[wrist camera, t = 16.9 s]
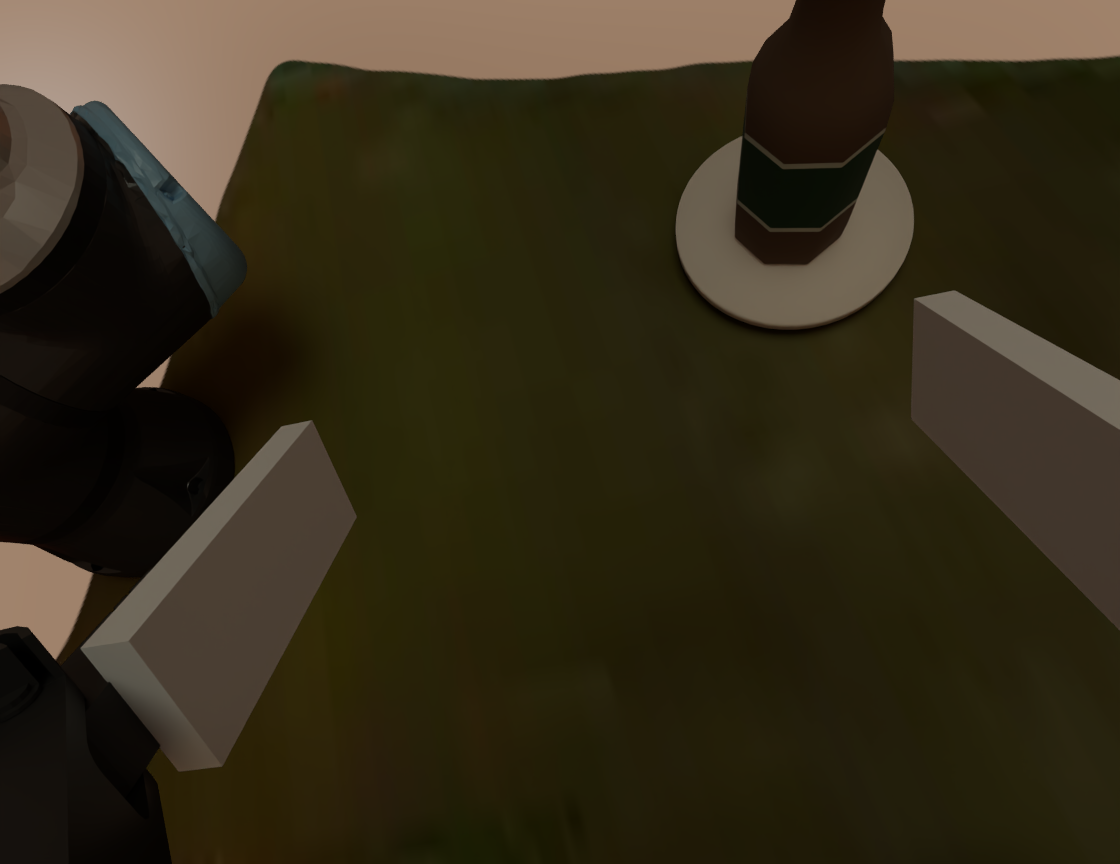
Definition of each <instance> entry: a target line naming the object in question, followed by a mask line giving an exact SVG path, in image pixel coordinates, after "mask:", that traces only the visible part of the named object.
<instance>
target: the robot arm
mask: <svg viewBox="0 0 1120 864" xmlns="http://www.w3.org/2000/svg"><path fill="white" fill-rule="evenodd" d="M246 272H247V264H246V259H245V257H244V255H243V253H242V251H241V250H240V249H239V247H238V246H237V245H236V244H235V243H234V242H233V241H232V240H231V239H230V238H229V237H228V235H227V234H226V233H225V232H224V231H223V230H222V229H221V228H220V227H219V226H218V225H217V224H216V223H215V221H214V220H212V219H211V217H210V216H209V215H208V214H207V213H206V212H205V211H204V210H203V209H202V207H201V206H200V205H199V204H198V203H197V202H196V201H195V200H194V199H193V198H192V197H191V196H190V195H189V194H188V192H186V190H185V189H184V188H183V187H182V186H181V185H180V184H179V183H178V182H177V181H176V179H174V177H173V176H172V175H171V174H170V173H169V172H168V171H167V170H166V169H165V168H164V167H163V166H162V164H161V163H160V162H159V161H158V160H157V159H156V158H155V157H154V156H153V155H152V154H151V152H150V151H149V150H148V149H147V148H146V147H145V146H144V145H143V144H142V143H141V142H140V141H139V139H138V138H137V137H136V136H135V135H134V134H133V133H132V132H131V131H130V130H129V129H128V128H127V127H126V125H125V124H124V123H123V122H122V121H121V120H120V119H119V118H118V117H117V116H116V115H115V114H114V113H113V112H112V111H111V109H110V108H109V107H107V105H105V104H104V103H102V102H99V101H91V102H88V103H86V104H85V105H83V106H81V105H80V106H76V107H74V109H73V111H72V112H71V113H70V114H68V113H67V112H65V111H64V110H63V109H62V108H60V107H59V106H58V105H57V104H56V103H54V102H52V101H51V100H49V99H47V98H46V97H45V96H43V95H41V94H39V93H37V92H35V91H34V90H32V89H28V88H25V87H21V86H15V85H7V84H2V85H0V542H10V543H21V544H30V545H34V546H36V547H38V548H41V549H42V550H44V551H47V552H49V553H51V554H53V555H55V556H57V557H59V558H61V559H63V560H66V561H68V562H71V563H73V564H75V565H76V566H78V567H80V568H82V569H85V570H87V571H89V572H92V573H96V574H100V575H105V576H119V577H142V578H141V579H140V580H139V581H138V582H137V583H136V584H135V585H134V586H133V588H132V589H131V590H130V591H129V595H125V596H124V597H123V599H122V600H121V601H120V602H119V603H118V604H117V605H116V606H115V607H114V612H110V613H109V614H108V615H107V616H106V617H105V618H104V619H103V620H102V622H101V623H100V624H99V625H98V626H97V627H96V628H95V629H94V630H93V631H92V632H91V634H90V635H89V636H88V637H87V638H86V639H85V640H84V641H83V642H82V643H81V645H80V646H79V647H78V648H77V649H76V650H75V651H74V652H73V653H72V654H71V655H70V657H69V658H68V659H67V660H66V661H65V662H64V663H63V664H62V665H61V666H60V665H59V664H58V663H57V662H56V660H55V659H54V658H53V657H52V656H51V654H50V653H49V652H48V651H47V650H46V648H45V647H44V646H43V645H42V644H41V643H40V641H39V640H38V639H37V638H36V637H35V635H34V634H33V633H32V632H31V631H30V629H29V628H27V627H19V626H16V627H12V628H8V629H4V630H0V864H172V862H171V856H170V851H169V845H168V839H167V834H166V828H165V823H164V817H163V812H162V806H161V801H160V795H159V790H158V784H157V783H156V781H155V779H154V778H153V776H152V775H151V774H150V773H149V772H148V770H147V769H146V767H147V766H148V764H149V762H150V761H151V759H152V758H153V756H154V755H155V753H156V752H157V750H158V749H159V747H160V749H161V750H162V751H163V752H164V754H165V755H166V756H167V757H168V759H169V760H170V761H171V762H172V764H173V765H174V766H175V767H176V769H177V770H178V771H179V772H180V771H188V770H196V769H204V768H213V767H221V766H223V764H224V762H225V760H226V759H227V757H228V755H229V753H230V751H231V749H232V747H233V746H234V744H235V742H236V740H237V738H238V736H239V734H240V733H241V731H242V729H243V727H244V725H245V723H246V721H247V720H248V718H249V716H250V714H251V712H252V710H253V708H254V707H255V705H256V703H257V701H258V699H259V697H260V695H261V694H262V692H263V690H264V688H265V686H266V684H267V682H268V681H269V679H270V677H271V675H272V673H273V671H274V669H275V668H276V666H277V664H278V662H279V660H280V658H281V656H282V655H283V653H284V651H285V649H286V647H287V645H288V644H289V642H290V640H291V638H292V636H293V634H294V632H295V631H296V629H297V627H298V625H299V623H300V621H301V619H302V618H303V616H304V614H305V612H306V610H307V608H308V606H309V605H310V603H311V601H312V599H313V597H314V595H315V593H316V592H317V590H318V588H319V586H320V584H321V582H322V580H323V579H324V577H325V575H326V573H327V571H328V569H329V567H330V566H331V564H332V562H333V560H334V558H335V556H336V554H337V553H338V551H339V549H340V547H341V545H342V543H343V541H344V540H345V538H346V536H347V534H348V532H349V530H350V528H351V527H352V525H353V523H354V521H355V519H356V517H357V516H356V514H355V512H354V510H353V508H352V506H351V503H350V501H349V499H348V497H347V495H346V493H345V490H344V488H343V486H342V484H341V482H340V480H339V477H338V475H337V473H336V471H335V469H334V467H333V465H332V462H331V460H330V458H329V456H328V454H327V452H326V449H325V447H324V445H323V443H322V441H321V439H320V436H319V434H318V432H317V430H316V428H315V426H314V424H313V421H312V420H311V421H306V422H301V423H296V424H291V425H286V426H282V427H281V428H280V429H279V430H278V431H277V432H276V433H275V434H274V435H273V436H272V438H271V439H270V440H269V441H268V442H267V443H266V444H265V445H264V446H263V447H262V449H261V450H260V451H259V452H258V453H257V454H256V455H255V456H254V457H253V458H252V460H251V461H250V462H249V463H248V464H247V465H246V466H245V467H244V468H243V470H242V471H241V472H240V473H239V474H238V475H237V476H236V477H235V478H234V479H233V471H234V460H233V450H232V445H231V441H230V438H229V435H228V433H227V430H226V428H225V426H224V425H223V423H222V421H221V420H220V419H219V417H218V416H217V415H216V414H215V413H214V412H213V411H212V410H211V409H210V408H209V407H207V406H206V405H204V404H203V403H201V402H199V401H197V400H195V399H193V398H190V397H188V396H185V395H183V394H181V393H178V392H175V391H172V390H168V389H163V388H155V387H153V388H151V387H142V388H136V387H137V386H138V385H139V384H140V383H141V382H143V381H144V379H146V378H147V377H148V376H149V375H150V374H151V373H152V372H153V371H155V370H156V369H157V368H158V367H159V366H160V365H161V364H162V363H163V362H164V361H165V360H166V359H168V358H169V357H170V356H171V355H172V354H173V353H174V352H175V351H176V350H178V349H179V348H180V347H181V346H182V345H183V344H184V343H185V342H186V341H187V340H188V339H190V338H191V337H192V336H193V335H194V334H195V333H196V332H197V331H198V330H199V329H200V328H202V327H203V326H204V325H205V324H206V323H207V322H208V321H209V320H210V319H212V318H214V317H215V316H216V315H217V314H218V312H219V308H220V307H221V306H222V305H223V304H224V303H225V302H226V300H227V299H228V298H229V297H230V296H231V295H232V294H233V293H234V292H235V291H236V290H237V288H238V287H239V286H240V285H241V284H242V283H243V281H244V279H245V276H246ZM911 419H912V420H913V421H914V422H915V423H916V424H917V425H918V426H919V427H920V428H921V429H922V430H923V431H924V432H925V433H926V434H927V435H928V436H929V437H930V438H931V439H932V440H933V441H934V442H935V443H936V444H937V445H938V446H939V447H940V448H941V450H942V451H943V452H944V453H945V454H946V455H947V456H948V457H949V458H950V459H951V460H952V461H953V462H954V463H955V464H956V465H957V466H958V467H959V468H960V469H961V470H962V471H963V472H964V473H965V474H966V475H967V476H968V477H969V478H970V479H971V480H972V481H973V482H974V483H975V484H976V485H977V486H978V487H979V488H980V489H981V490H982V491H983V492H984V493H985V494H986V495H987V496H988V497H989V498H990V499H991V500H992V501H993V502H994V503H995V504H996V505H997V506H998V507H999V508H1000V509H1001V510H1002V511H1003V512H1004V513H1005V514H1006V515H1007V516H1008V517H1009V518H1010V519H1011V521H1012V522H1013V523H1014V524H1015V525H1016V526H1017V527H1018V528H1019V529H1020V530H1021V531H1022V532H1023V533H1024V534H1025V535H1026V536H1027V537H1028V538H1029V539H1030V540H1031V541H1032V542H1033V543H1034V544H1035V545H1036V546H1037V547H1038V548H1039V549H1040V550H1041V551H1042V552H1043V553H1044V554H1045V555H1046V556H1047V557H1048V558H1049V559H1050V560H1051V561H1052V562H1053V563H1054V564H1055V565H1056V566H1057V567H1058V568H1059V569H1060V570H1061V571H1062V572H1063V573H1064V574H1065V575H1066V576H1067V577H1068V578H1069V579H1070V580H1071V581H1072V582H1073V583H1074V584H1075V585H1076V586H1077V587H1078V588H1079V589H1080V591H1081V592H1082V593H1083V594H1084V595H1085V596H1086V597H1087V598H1088V599H1089V600H1090V601H1091V602H1092V603H1093V604H1094V605H1095V606H1096V607H1097V608H1098V609H1099V610H1100V611H1101V612H1102V613H1103V614H1104V615H1105V616H1106V617H1107V618H1108V619H1109V620H1110V621H1111V622H1112V623H1113V624H1114V625H1115V626H1116V627H1117V628H1118V629H1119V630H1120V380H1118V379H1116V378H1114V377H1112V376H1110V375H1109V374H1107V373H1105V372H1103V371H1101V370H1099V369H1098V368H1096V367H1094V366H1092V365H1090V364H1088V363H1087V362H1085V361H1083V360H1081V359H1079V358H1077V357H1076V356H1074V355H1072V354H1070V353H1068V352H1066V351H1065V350H1063V349H1061V348H1059V347H1057V346H1055V345H1054V344H1052V343H1050V342H1048V341H1046V340H1044V339H1043V338H1041V337H1039V336H1037V335H1035V334H1033V333H1032V332H1030V331H1028V330H1026V329H1024V328H1022V327H1021V326H1019V325H1017V324H1015V323H1013V322H1011V321H1010V320H1008V319H1006V318H1004V317H1002V316H1000V315H999V314H997V313H995V312H993V311H991V310H989V309H988V308H986V307H984V306H982V305H980V304H978V303H977V302H975V301H973V300H971V299H969V298H968V297H966V296H964V295H962V294H960V293H958V292H957V291H950V292H945V293H940V294H935V295H930V296H925V297H920V298H915V299H914V324H913V363H912V401H911ZM232 480H233V481H232Z"/></svg>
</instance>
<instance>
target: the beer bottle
mask: <svg viewBox="0 0 1120 864" xmlns="http://www.w3.org/2000/svg"><path fill="white" fill-rule="evenodd" d="M884 3H885V0H796V2H795V5H794V7H793V10H792V13H791V16H790V18H789V19H788V20H787V21H786V22H785V23H784V24H783V25H782V26H781V27H780V28H778V30H776V31H775V32H774V33H773V34H772V35H771V36H770V37H769V38H768V39H767V40H766V41H765V42H764V44H763V46H762V48H761V49H760V51H759V53H758V54H757V56H756V58H755V59H754V61H753V64H752V69H751V74H750V78H749V83H748V89H747V98H746V107H745V117H744V126H743V136H742V145H741V155H740V164H739V174H738V183H737V198H736V215H735V238H736V239H737V240H738V241H739V242H740V243H742V244H743V245H744V246H745V247H746V248H747V249H748V250H749V251H750V252H752V253H753V254H754V255H755V256H756V257H757V258H758V259H759V260H760V261H762V262H763V263H764V264H808V263H809V262H811V261H812V260H813V259H814V258H816V257H817V256H818V255H819V254H820V253H822V252H823V251H824V250H825V249H826V248H828V247H829V246H830V245H831V244H833V243H834V242H835V241H836V240H837V239H839V238H840V237H841V235H842V233H843V231H844V229H845V227H846V225H847V223H848V221H849V219H850V216H851V214H852V211H853V209H854V206H855V204H856V201H857V199H858V196H859V194H860V191H861V189H862V186H863V184H864V181H865V179H866V176H867V174H868V171H869V169H870V166H871V164H872V161H873V159H874V157H875V154H876V152H877V149H878V147H879V144H880V142H881V139H882V137H883V134H884V132H885V129H886V127H887V123H888V120H889V116H890V113H891V109H892V106H893V102H894V60H893V42H892V32H891V30H890V28H889V27H888V25H887V23H886V22H885V20H884V18H883V17H882V15H883V8H884Z"/></svg>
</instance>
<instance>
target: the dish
mask: <svg viewBox="0 0 1120 864" xmlns="http://www.w3.org/2000/svg"><path fill="white" fill-rule="evenodd" d="M741 145H742V137H739V138H737V139H736V140H734V141H732V142H730V143H728V144H726V145H725V146H724V147H722V148H721V149H719V150H718V151H716V152H715V153H714V154H713V155H712V156H710V157H709V158H708V159H707V160H706V161H705V162H704V163H703V164H702V165H701V166H700V167H699V169H698V170H697V171H696V172H695V174H694V175H693V176H692V178H691V179H690V181H689V182H688V184H687V186H686V188H685V190H684V192H683V194H682V197H681V200H680V203H679V206H678V211H677V217H676V242H677V251H678V255H679V258H680V262H681V265H682V267H683V269H684V271H685V274H686V275H687V277H688V279H689V280H690V282H691V283H692V285H693V286H694V288H695V289H696V290H697V291H698V292H699V293H700V295H701V296H702V297H703V298H705V299H706V300H707V301H708V302H709V303H710V304H711V305H713V306H714V307H716V308H717V309H718V310H720V311H721V312H723V313H725V314H727V315H729V316H731V317H733V318H735V319H737V320H739V321H742V322H745V323H748V324H750V325H755V326H759V327H763V328H770V329H779V330H799V329H807V328H814V327H818V326H823V325H827V324H830V323H833V322H836V321H838V320H841V319H844V318H846V317H848V316H849V315H851V314H853V313H855V312H857V311H859V310H860V309H862V308H863V307H865V306H866V305H868V304H869V303H871V302H872V301H873V300H874V299H875V298H876V297H877V296H878V295H879V294H881V293H882V292H883V290H884V289H885V288H886V287H887V286H888V285H889V283H890V282H891V281H892V279H893V278H894V276H895V275H896V273H897V271H898V270H899V268H900V266H901V265H902V263H903V261H904V259H905V257H906V255H907V252H908V250H909V247H910V243H911V240H912V236H913V227H914V214H913V205H912V201H911V197H910V193H909V191H908V189H907V186H906V184H905V182H904V180H903V178H902V177H901V175H900V173H899V172H898V170H897V169H896V168H895V166H894V165H893V164H892V163H891V162H890V160H889V159H888V158H886V157H885V156H884V155H883V154H882V153H881V152H880V151H879V150H877V152H876V154H875V157H874V159H873V161H872V164H871V166H870V169H869V171H868V174H867V176H866V179H865V181H864V184H863V186H862V189H861V191H860V194H859V196H858V199H857V201H856V204H855V206H854V209H853V211H852V214H851V216H850V219H849V221H848V223H847V225H846V227H845V229H844V231H843V233H842V235H841V237H840V238H839V239H837V240H836V241H835V242H834V243H833V244H831V245H830V246H829V247H828V248H826V249H825V250H824V251H823V252H822V253H820V254H819V255H818V256H817V257H816V258H814V259H813V260H812V261H811V262H809V263H808V264H764V263H763V262H762V261H760V260H759V259H758V258H757V257H756V256H755V255H754V254H753V253H752V252H750V251H749V250H748V249H747V248H746V247H745V246H744V245H743V244H742V243H740V242H739V241H738V240H737V239H736V238H735V215H736V198H737V183H738V174H739V164H740V155H741Z"/></svg>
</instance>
